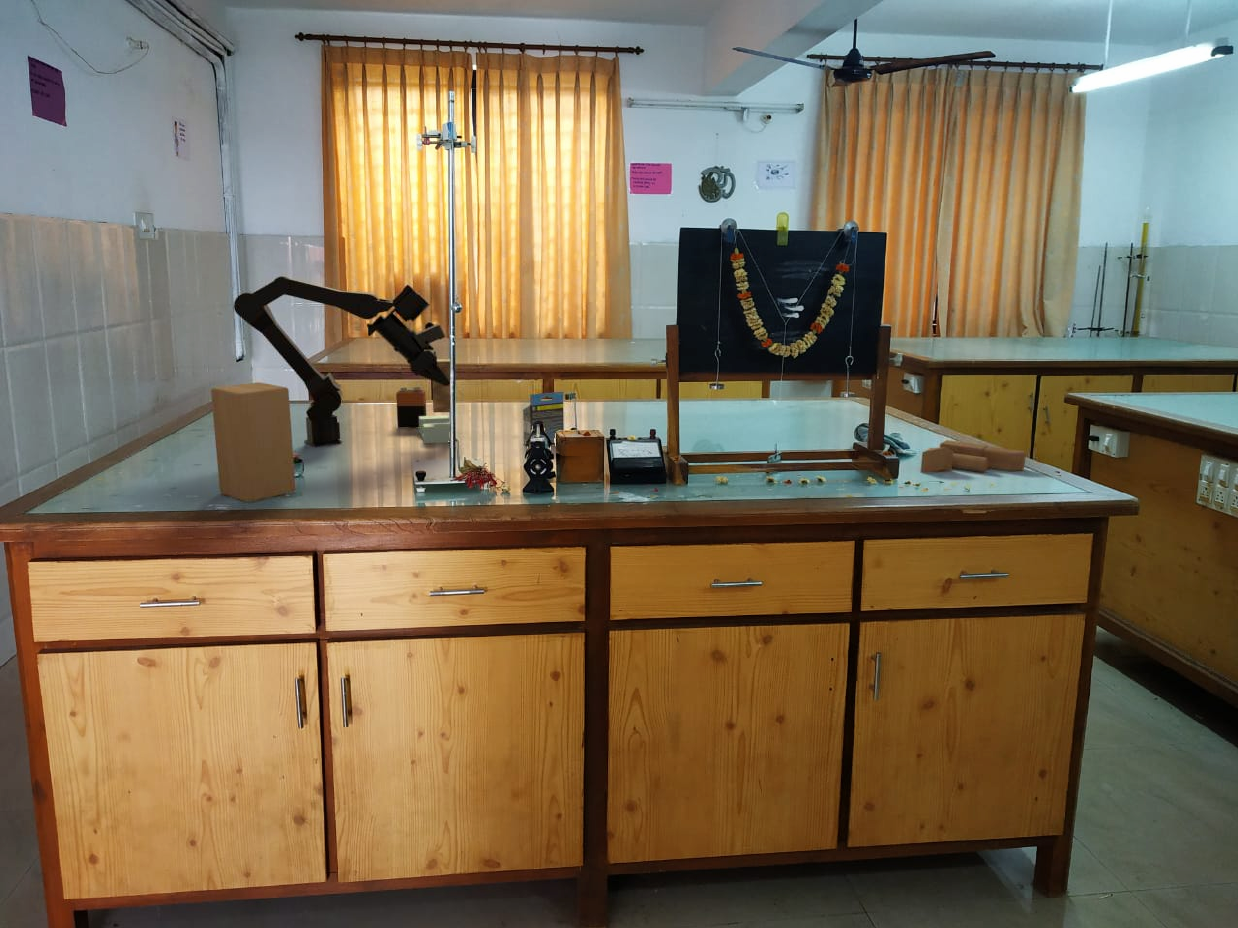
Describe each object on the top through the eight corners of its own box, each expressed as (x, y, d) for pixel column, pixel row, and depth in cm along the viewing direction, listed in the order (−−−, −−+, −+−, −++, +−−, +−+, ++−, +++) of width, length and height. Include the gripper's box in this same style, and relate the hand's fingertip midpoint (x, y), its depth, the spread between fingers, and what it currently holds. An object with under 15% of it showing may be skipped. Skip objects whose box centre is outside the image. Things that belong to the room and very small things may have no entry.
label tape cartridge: (556, 440, 227) (556, 389, 224) (564, 443, 224) (564, 391, 221) (523, 444, 222) (522, 392, 219) (530, 447, 219) (530, 394, 216)
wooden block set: (942, 434, 212) (1027, 445, 202) (940, 459, 213) (1024, 471, 203) (917, 447, 198) (1007, 459, 188) (915, 473, 200) (1004, 487, 190)
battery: (424, 428, 239) (423, 388, 237) (397, 428, 239) (395, 388, 236) (426, 424, 243) (425, 386, 241) (400, 424, 243) (398, 386, 240)
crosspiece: (455, 442, 223) (454, 425, 222) (425, 444, 221) (424, 427, 220) (447, 430, 236) (447, 415, 235) (419, 432, 234) (418, 416, 233)
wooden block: (268, 483, 185) (260, 381, 180) (296, 492, 178) (289, 387, 174) (219, 493, 177) (209, 387, 172) (247, 503, 171) (238, 393, 166)
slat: (433, 412, 223) (432, 361, 220) (433, 409, 226) (432, 359, 224) (453, 412, 223) (452, 361, 221) (452, 409, 227) (451, 359, 225)
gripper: (424, 314, 210) (475, 364, 215) (423, 308, 228) (469, 354, 232) (389, 350, 210) (440, 399, 215) (390, 341, 228) (437, 386, 233)
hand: (448, 383), depth 224 cm, fingers closed on slat, 4 cm apart
